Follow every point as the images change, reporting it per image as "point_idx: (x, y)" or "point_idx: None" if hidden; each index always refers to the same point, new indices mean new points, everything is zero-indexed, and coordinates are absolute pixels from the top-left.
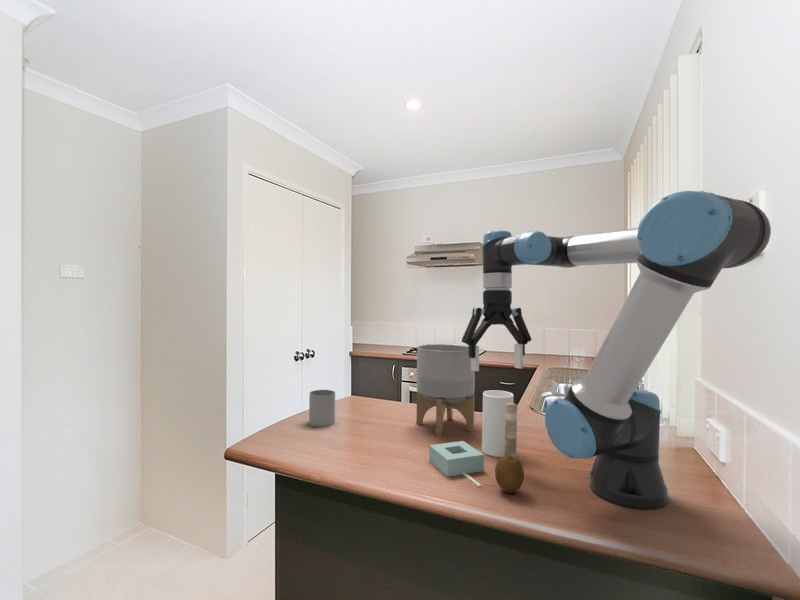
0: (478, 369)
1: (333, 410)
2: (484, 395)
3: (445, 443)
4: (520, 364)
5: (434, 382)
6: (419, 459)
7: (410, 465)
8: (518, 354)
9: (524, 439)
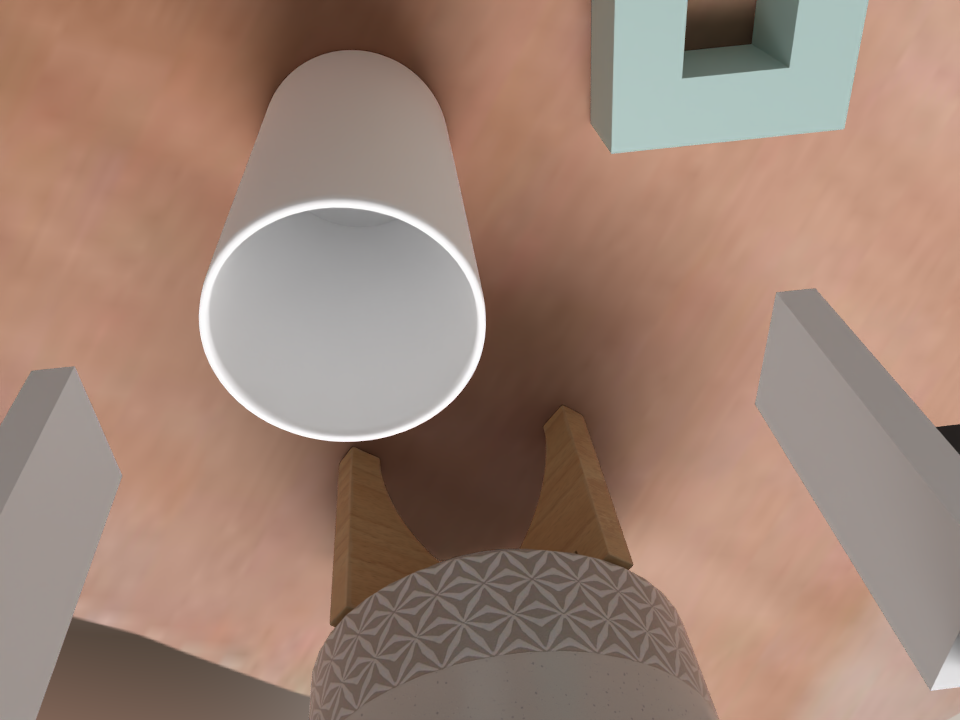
0: (793, 305)
1: None
2: (485, 324)
3: (738, 137)
4: (54, 409)
5: (675, 662)
6: (838, 131)
7: (927, 64)
8: (21, 563)
9: (95, 282)
